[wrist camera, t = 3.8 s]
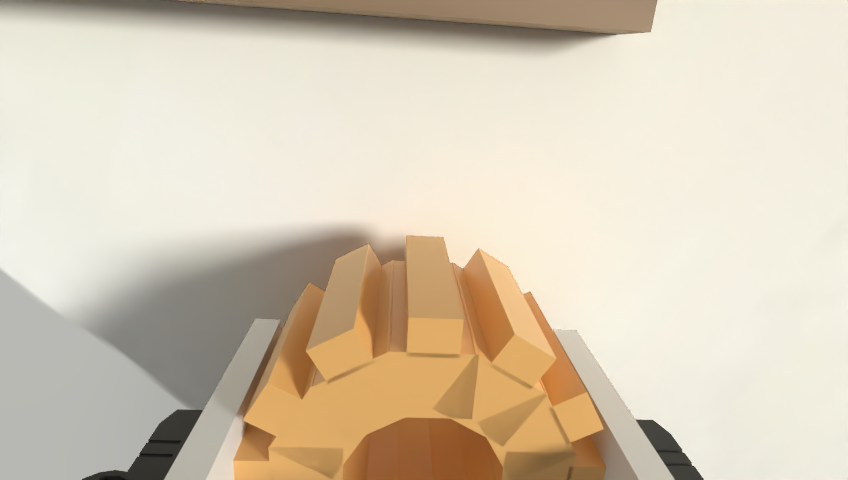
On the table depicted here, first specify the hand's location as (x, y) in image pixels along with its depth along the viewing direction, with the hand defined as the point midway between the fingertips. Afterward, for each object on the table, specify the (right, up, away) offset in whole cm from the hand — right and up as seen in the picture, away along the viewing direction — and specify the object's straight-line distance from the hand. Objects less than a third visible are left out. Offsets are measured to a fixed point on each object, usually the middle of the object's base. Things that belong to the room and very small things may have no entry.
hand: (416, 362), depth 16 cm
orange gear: (0, 0, 0) cm, 0 cm away
